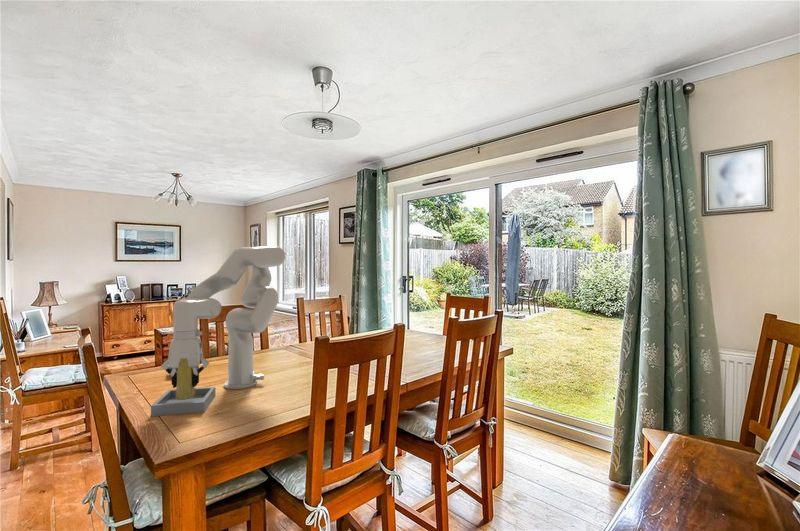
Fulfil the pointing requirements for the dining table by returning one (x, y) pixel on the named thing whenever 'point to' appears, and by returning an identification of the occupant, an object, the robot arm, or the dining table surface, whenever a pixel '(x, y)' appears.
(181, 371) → the vase
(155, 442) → the dining table surface
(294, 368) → the dining table surface
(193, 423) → the dining table surface
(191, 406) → the tray
